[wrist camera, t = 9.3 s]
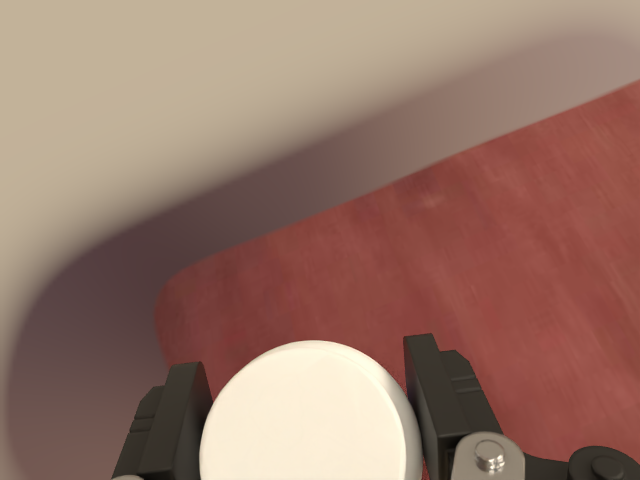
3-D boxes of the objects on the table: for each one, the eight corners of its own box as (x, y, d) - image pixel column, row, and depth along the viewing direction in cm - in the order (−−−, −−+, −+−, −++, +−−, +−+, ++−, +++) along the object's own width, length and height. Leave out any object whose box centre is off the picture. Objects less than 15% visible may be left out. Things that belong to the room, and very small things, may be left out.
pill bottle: (427, 414, 19) (489, 393, 10) (358, 567, 17) (368, 687, 9) (293, 343, 20) (252, 272, 11) (217, 481, 18) (109, 515, 10)
